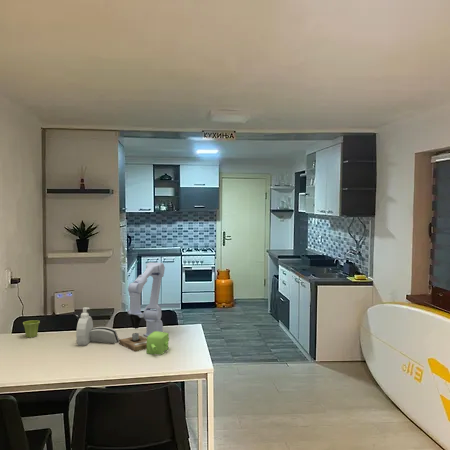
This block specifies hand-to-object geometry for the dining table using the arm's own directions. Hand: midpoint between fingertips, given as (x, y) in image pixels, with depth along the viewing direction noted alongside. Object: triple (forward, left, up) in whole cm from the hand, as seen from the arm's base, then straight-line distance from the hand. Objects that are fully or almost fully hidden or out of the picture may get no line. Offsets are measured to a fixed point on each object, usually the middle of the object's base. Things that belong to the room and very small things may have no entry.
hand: (135, 327), depth 246 cm
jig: (0, +2, -9) cm, 10 cm away
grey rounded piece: (+11, -16, -10) cm, 22 cm away
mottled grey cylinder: (0, 0, -9) cm, 9 cm away
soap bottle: (+20, -22, -10) cm, 31 cm away
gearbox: (-3, +20, -10) cm, 22 cm away
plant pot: (+40, -55, -10) cm, 68 cm away
